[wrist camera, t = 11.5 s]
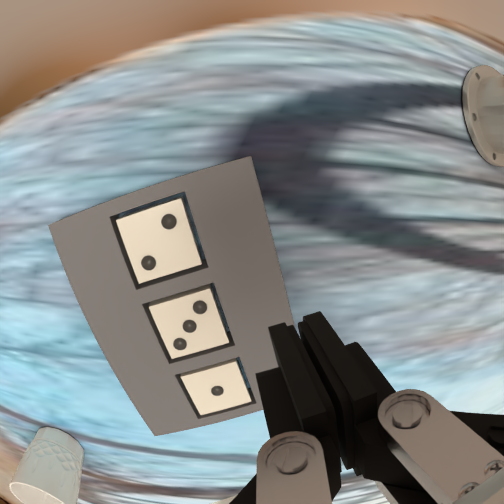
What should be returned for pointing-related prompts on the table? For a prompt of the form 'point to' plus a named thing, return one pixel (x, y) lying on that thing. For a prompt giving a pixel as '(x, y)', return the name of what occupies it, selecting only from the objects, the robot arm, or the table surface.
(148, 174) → the table surface
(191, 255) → the button two
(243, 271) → the button panel
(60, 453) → the white cup
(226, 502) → the milk
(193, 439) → the table surface
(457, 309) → the table surface
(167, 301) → the button three
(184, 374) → the button one
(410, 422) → the robot arm
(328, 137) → the table surface
